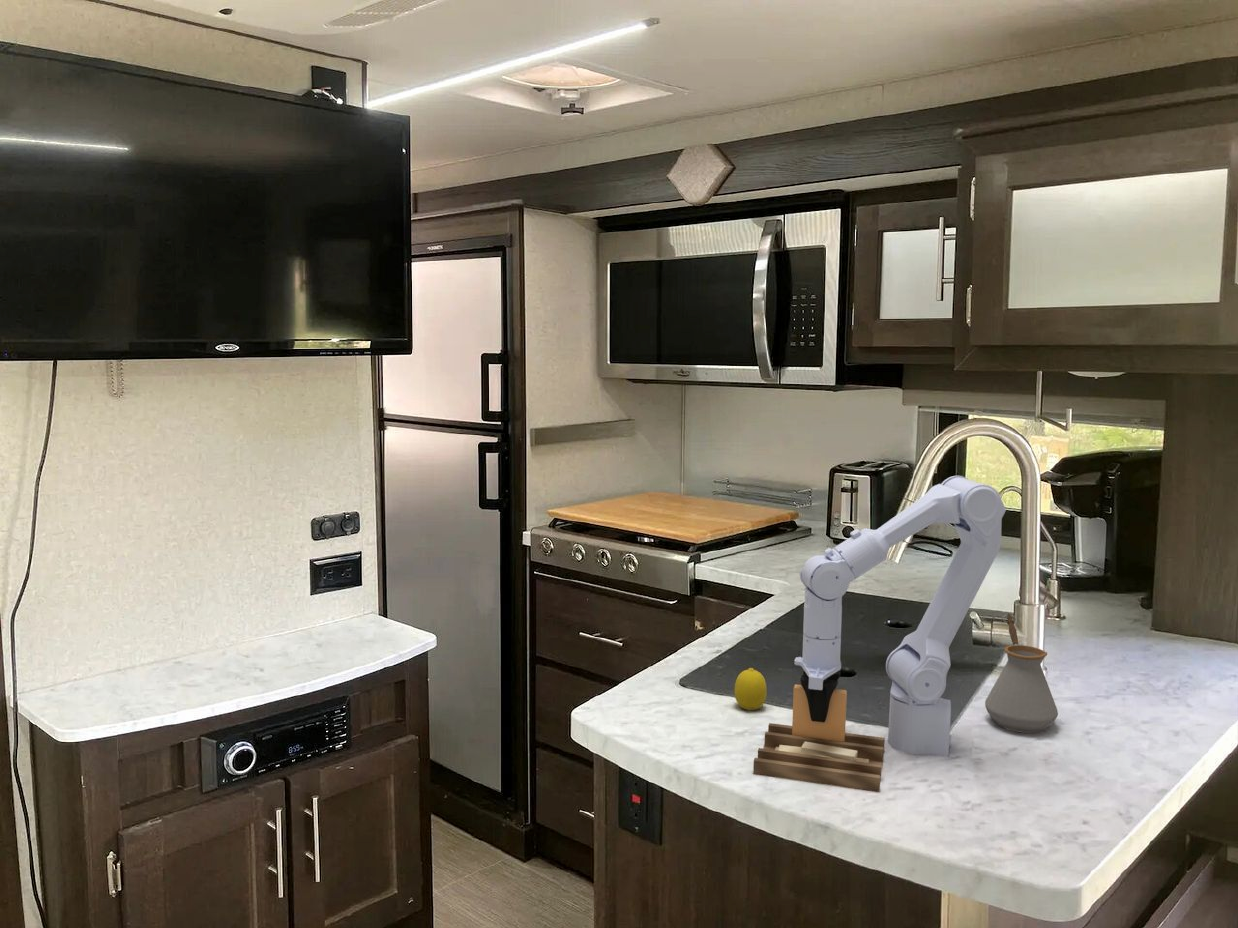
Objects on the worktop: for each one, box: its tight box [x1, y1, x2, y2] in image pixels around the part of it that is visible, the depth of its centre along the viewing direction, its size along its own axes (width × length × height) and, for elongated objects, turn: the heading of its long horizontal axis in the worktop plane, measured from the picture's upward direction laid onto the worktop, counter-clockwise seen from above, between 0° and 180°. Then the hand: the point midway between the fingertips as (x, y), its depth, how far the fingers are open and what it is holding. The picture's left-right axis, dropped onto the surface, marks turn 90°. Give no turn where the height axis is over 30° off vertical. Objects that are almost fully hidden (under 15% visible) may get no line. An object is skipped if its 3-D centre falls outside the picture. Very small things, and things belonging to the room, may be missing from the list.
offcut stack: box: [775, 742, 869, 763], centre depth 149 cm, size 14×4×2 cm, turn 72°
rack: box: [752, 722, 886, 793], centre depth 150 cm, size 18×16×3 cm
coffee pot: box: [984, 613, 1059, 734], centre depth 171 cm, size 21×12×15 cm, turn 168°
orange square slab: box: [791, 683, 848, 742], centre depth 154 cm, size 8×2×8 cm, turn 72°
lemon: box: [734, 667, 768, 711], centre depth 170 cm, size 6×6×8 cm
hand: (819, 718), depth 154 cm, fingers closed on orange square slab, 2 cm apart
